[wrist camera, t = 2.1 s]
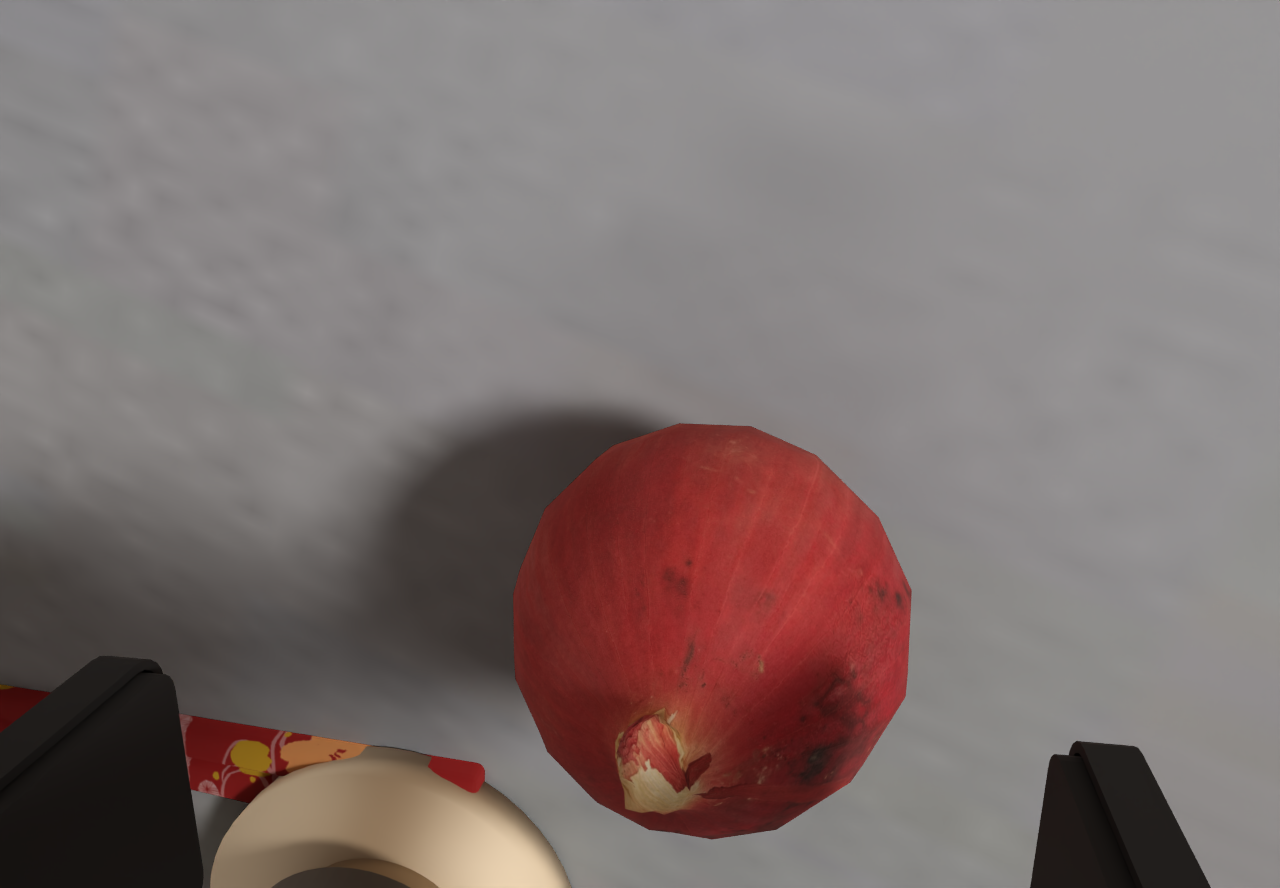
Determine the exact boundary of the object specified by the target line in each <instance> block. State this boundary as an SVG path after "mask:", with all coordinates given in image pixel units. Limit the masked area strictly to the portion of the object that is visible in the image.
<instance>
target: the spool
mask: <svg viewBox="0 0 1280 888" xmlns="http://www.w3.org/2000/svg"><path fill="white" fill-rule="evenodd" d="M431 758H432V757H430V756H427V755H423V754H420V753H416V752H412V751H407V750H401V749H395V748H388V747H371V746H366V748H365V749H364V750H363V751H362V752H361V754H360V755H358V756H355V757H352V758H347V759H342V760H334V761H330V762H324V763H319V764H314V765H310V766H307V767H305V768H302V769H299V770H296V771H293V772H291V773H289V774H287V775H285V776H279V777H278V778H277V779H276V780H275V781H274V782H273V783H271V784H270V785H269V786H268V787H266V788H265V789H264V790H262V791H261V792H260V793H259V794H258V795H257V796H256V797H255V798H254V799H253V800H252V802H251V803H249V805H248V806H247V807H246V808H245V809H244V811H243V812H242V813H241V814H240V815H239V816H238V818H237V819H236V820H235V821H234V822H233V824H232V825H231V827H230V828H229V830H228V831H227V833H226V834H225V836H224V837H223V839H222V842H221V844H220V846H219V848H218V851H217V853H216V855H215V860H214V864H213V868H212V872H211V881H210V888H572V887H571V885H570V882H569V880H568V877H567V875H566V872H565V870H564V867H563V866H562V864H561V862H560V860H559V859H558V857H557V855H556V853H555V851H554V850H553V848H552V846H551V845H550V844H549V842H548V841H547V840H546V838H545V837H544V835H543V834H542V833H541V831H540V830H539V829H538V828H537V827H536V825H535V824H534V823H533V822H532V821H531V820H530V819H529V818H528V817H527V816H526V815H525V814H524V812H523V811H522V810H520V809H519V808H518V807H517V806H516V805H515V804H514V803H512V802H511V801H510V800H509V799H508V798H507V797H505V796H504V795H503V794H502V793H500V792H499V791H497V790H496V789H494V788H493V787H492V786H490V785H489V784H487V783H486V782H483V784H482V786H481V787H480V789H479V791H478V792H476V793H471V792H468V791H466V790H464V789H462V788H461V787H459V786H457V785H455V784H454V783H452V782H450V781H448V780H446V779H444V778H442V777H440V776H439V775H437V774H436V773H434V772H433V771H432V770H431V769H430V768H429V767H428V765H429V763H430V760H431Z"/></svg>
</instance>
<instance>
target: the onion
mask: <svg viewBox="0 0 1280 888" xmlns="http://www.w3.org/2000/svg"><path fill="white" fill-rule="evenodd" d="M513 612H514V663H515V679H516V681H517V683H518V686H519V688H520V690H521V692H522V694H523V697H524V699H525V701H526V703H527V705H528V708H529V710H530V712H531V714H532V716H533V719H534V721H535V723H536V725H537V727H538V730H539V732H540V734H541V737H542V739H543V742H544V744H545V747H546V749H547V752H548V753H549V754H550V755H551V756H552V757H553V758H554V759H555V760H556V761H557V762H558V763H559V764H560V765H561V766H562V767H563V768H564V769H565V770H566V771H567V772H568V773H569V774H570V775H571V776H572V777H573V779H574V780H575V781H576V782H577V783H578V784H579V785H580V786H581V787H582V788H583V789H584V790H585V791H586V792H587V793H588V794H589V795H590V796H591V797H592V798H593V799H594V800H595V801H596V802H597V803H599V804H601V805H603V806H605V807H607V808H609V809H611V810H612V811H614V812H616V813H618V814H620V815H622V816H624V817H626V818H628V819H630V820H631V821H633V822H635V823H637V824H639V825H641V826H643V827H645V828H647V829H649V830H655V831H665V832H673V833H679V834H685V835H690V836H696V837H702V838H707V839H718V838H724V837H731V836H738V835H744V834H751V833H757V832H764V831H771V830H776V829H778V828H780V827H781V826H783V825H785V824H786V823H788V822H789V821H791V820H792V819H794V818H796V817H797V816H799V815H800V814H802V813H803V812H805V811H806V810H808V809H809V808H811V807H813V806H814V805H816V804H817V803H819V802H820V801H822V800H823V799H825V798H827V797H828V796H830V795H831V794H833V793H834V792H836V791H837V790H839V789H840V788H842V787H844V786H845V785H847V784H848V783H850V782H851V781H852V779H853V778H854V776H855V775H856V773H857V772H858V771H859V769H860V768H861V766H862V765H863V763H864V762H865V760H866V759H867V757H868V755H869V754H870V752H871V751H872V749H873V748H874V746H875V744H876V743H877V741H878V740H879V738H880V736H881V735H882V733H883V732H884V730H885V728H886V727H887V725H888V724H889V722H890V720H891V719H892V717H893V716H894V714H895V713H896V711H897V709H898V708H899V706H900V705H901V703H902V701H903V700H904V698H905V696H906V685H907V674H908V655H909V634H910V613H911V588H910V586H909V584H908V582H907V579H906V577H905V575H904V573H903V571H902V568H901V566H900V564H899V562H898V560H897V557H896V555H895V553H894V551H893V548H892V546H891V544H890V542H889V540H888V537H887V535H886V533H885V531H884V528H883V526H882V524H881V522H880V520H879V517H878V516H877V515H876V514H875V513H874V512H873V511H872V510H871V509H870V508H869V507H868V506H867V505H866V504H865V503H864V502H863V501H862V500H861V499H860V498H859V497H858V496H857V495H856V494H855V493H854V492H853V491H852V490H851V489H850V488H849V487H848V486H847V485H846V484H845V483H844V482H843V481H842V480H841V479H840V478H839V477H838V476H837V475H836V474H835V473H834V472H832V471H831V470H830V469H829V468H828V467H827V466H826V465H825V464H824V463H823V462H822V461H821V460H820V459H819V458H818V457H817V456H816V455H815V454H812V453H810V452H808V451H806V450H803V449H801V448H799V447H797V446H794V445H792V444H790V443H788V442H785V441H783V440H781V439H779V438H776V437H774V436H772V435H769V434H767V433H765V432H763V431H760V430H758V429H756V428H754V427H751V426H730V425H705V424H680V423H679V424H676V425H673V426H670V427H667V428H664V429H661V430H658V431H655V432H652V433H649V434H646V435H643V436H640V437H637V438H634V439H631V440H628V441H625V442H622V443H619V444H616V445H613V446H612V447H610V448H609V449H608V450H607V451H605V452H604V453H603V454H602V455H600V456H599V457H598V458H596V459H595V460H594V461H593V462H592V463H591V464H590V465H589V466H588V467H587V468H586V469H585V470H584V471H583V472H582V473H581V474H580V475H579V476H578V477H577V478H576V479H575V480H574V481H573V482H572V483H571V484H570V485H569V486H568V487H567V488H566V489H565V490H564V491H563V492H562V493H561V494H560V495H559V496H557V497H556V498H555V499H554V500H553V501H552V502H551V503H550V504H549V505H548V506H547V507H546V508H545V510H544V513H543V515H542V517H541V520H540V522H539V525H538V527H537V529H536V532H535V534H534V537H533V539H532V542H531V544H530V546H529V549H528V551H527V554H526V556H525V558H524V561H523V563H522V566H521V568H520V571H519V575H518V579H517V582H516V586H515V590H514V593H513Z"/></svg>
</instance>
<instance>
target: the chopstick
mask: <svg viewBox="0 0 1280 888" xmlns="http://www.w3.org/2000/svg"><path fill="white" fill-rule="evenodd" d="M49 694H50V692H44V691H38V690H32V689H26V688H20V687H14V686H7V685H1V684H0V732H2V731H3V730H4V729H6V728H7V727H8V726H9V725H11V724H12V723H13V722H14V721H16V720H17V719H18V718H20V717H21V716H22V715H23V714H25V713H26V712H27V711H28V710H30V709H31V708H32V707H34V706H35V705H36V704H37V703H39V702H40V701H41V700H43V699H44V698H45V697H46V696H48V695H49ZM179 717H180V723H181V730H182V736H183V743H184V749H185V755H186V762H187V768H188V775H189V781H190V788H191V790H195V791H200V792H204V793H208V794H212V795H217V796H221V797H225V798H229V799H234V800H238V801H242V802H246V803H251V802H252V800H253V799H254V798H255V797H256V796H257V795H258V794H259V793H260V792H261V791H262V790H264V789H265V788H266V787H268V786H269V785H270V784H271V783H273V782H274V781H275V780H276V779H277V778H278V777H279V776H285V775H287V774H289V773H291V772H293V771H296V770H299V769H302V768H305V767H307V766H310V765H314V764H319V763H324V762H330V761H334V760H342V759H347V758H352V757H355V756H358V755H360V754H361V752H362V751H363V750H364V749H365V748H366V746H371V745H365V744H359V743H353V742H347V741H341V740H335V739H329V738H323V737H317V736H311V735H305V734H299V733H292V732H286V731H280V730H274V729H268V728H262V727H256V726H250V725H244V724H238V723H232V722H226V721H220V720H214V719H208V718H202V717H195V716H189V715H183V714H179ZM371 747H377V746H371ZM423 755H426V754H423ZM427 756H430V757H432V758H431V760H430V763H429V765H428V767H429V768H430V769H431V770H432V771H433V772H434V773H436V774H437V775H439V776H440V777H442V778H444V779H446V780H448V781H450V782H452V783H454V784H455V785H457V786H459V787H461V788H462V789H464V790H466V791H468V792H471V793H476V792H478V791H479V789H480V787H481V786H482V784H483V782H485V770H484V767H483V766H482V765H481V764H478V763H474V762H468V761H462V760H456V759H450V758H444V757H438V756H432V755H427Z"/></svg>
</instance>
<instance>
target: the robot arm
mask: <svg viewBox="0 0 1280 888" xmlns="http://www.w3.org/2000/svg"><path fill="white" fill-rule="evenodd" d="M202 885H203V866H202V859H201V853H200V846H199V840H198V833H197V827H196V820H195V814H194V807H193V801H192V794H191V788H190V781H189V775H188V768H187V762H186V755H185V749H184V743H183V736H182V730H181V723H180V717H179V710H178V704H177V697H176V691H175V686H174V683H173V680H172V679H171V678H170V676H168V675H166V674H163V673H162V669H161V668H160V666H159V665H158V664H157V663H156V662H154V661H152V660H148V659H137V658H125V657H114V656H100V657H98V658H96V659H94V660H92V661H91V662H90V663H88V664H87V665H86V666H85V667H83V668H82V669H81V670H80V671H78V672H77V673H76V674H74V675H73V676H72V677H71V678H69V679H68V680H67V681H65V682H64V683H63V684H62V685H60V686H59V687H58V688H57V689H55V690H54V691H53V692H51V693H50V694H49V695H48V696H46V697H45V698H44V699H43V700H41V701H40V702H39V703H37V704H36V705H35V706H34V707H32V708H31V709H30V710H28V711H27V712H26V713H25V714H23V715H22V716H21V717H20V718H18V719H17V720H16V721H14V722H13V723H12V724H11V725H9V726H8V727H7V728H6V729H4V730H3V731H2V732H0V888H202ZM1030 888H1211V887H1210V885H1209V883H1208V881H1207V879H1206V877H1205V875H1204V873H1203V871H1202V869H1201V868H1200V866H1199V864H1198V862H1197V860H1196V858H1195V856H1194V854H1193V852H1192V850H1191V848H1190V846H1189V844H1188V842H1187V840H1186V838H1185V836H1184V834H1183V832H1182V830H1181V828H1180V826H1179V825H1178V823H1177V821H1176V819H1175V817H1174V815H1173V813H1172V811H1171V809H1170V807H1169V805H1168V803H1167V801H1166V799H1165V797H1164V795H1163V793H1162V791H1161V789H1160V787H1159V785H1158V783H1157V781H1156V780H1155V778H1154V776H1153V774H1152V772H1151V770H1150V768H1149V766H1148V764H1147V762H1146V760H1145V758H1144V756H1143V754H1142V753H1141V751H1140V750H1139V749H1138V748H1137V747H1134V746H1126V745H1115V744H1104V743H1092V742H1081V741H1076V742H1075V743H1073V745H1072V747H1071V749H1070V752H1069V755H1058V754H1054V755H1053V756H1052V757H1051V759H1050V762H1049V767H1048V773H1047V780H1046V786H1045V793H1044V800H1043V807H1042V813H1041V820H1040V827H1039V833H1038V840H1037V847H1036V853H1035V860H1034V867H1033V873H1032V880H1031V887H1030Z"/></svg>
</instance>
